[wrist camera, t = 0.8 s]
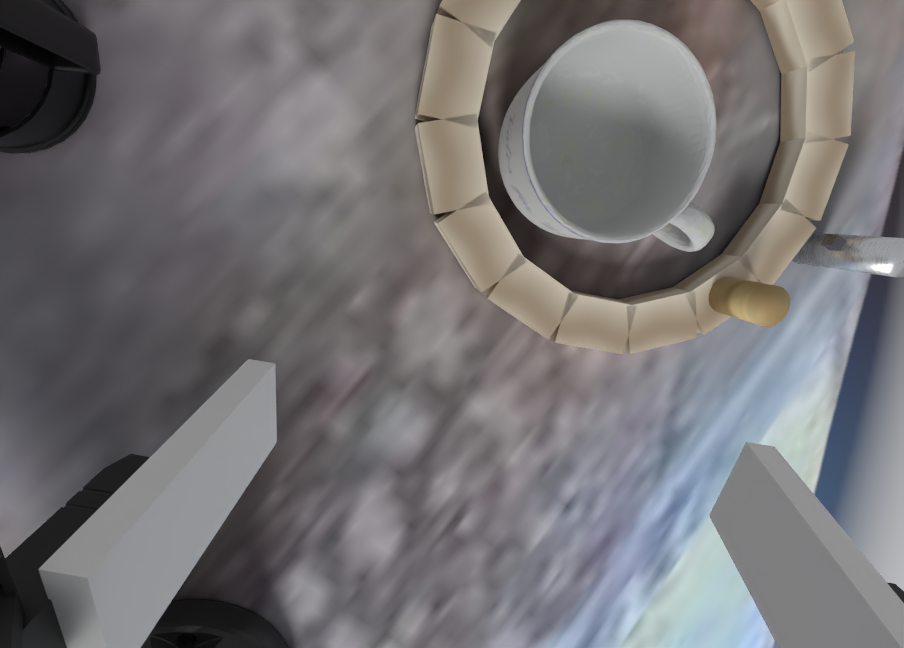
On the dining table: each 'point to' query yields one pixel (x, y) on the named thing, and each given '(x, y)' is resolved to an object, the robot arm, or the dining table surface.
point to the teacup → (613, 138)
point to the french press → (70, 76)
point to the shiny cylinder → (854, 253)
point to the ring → (705, 291)
